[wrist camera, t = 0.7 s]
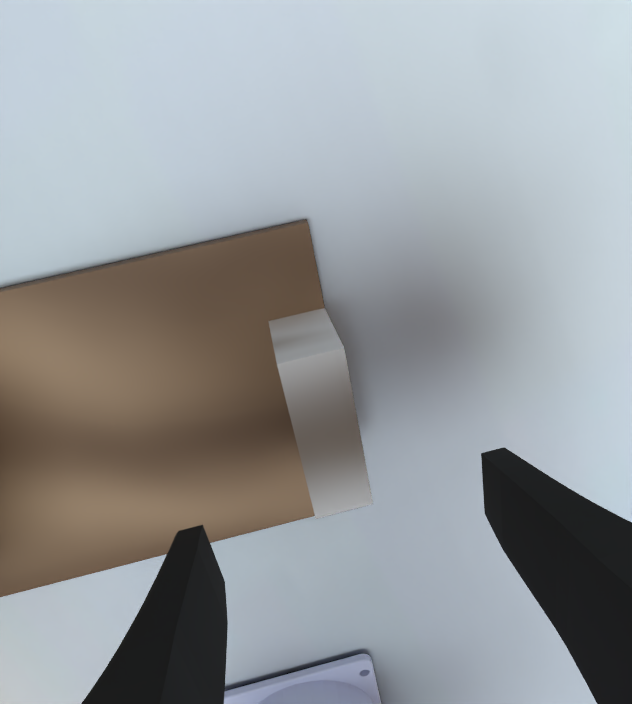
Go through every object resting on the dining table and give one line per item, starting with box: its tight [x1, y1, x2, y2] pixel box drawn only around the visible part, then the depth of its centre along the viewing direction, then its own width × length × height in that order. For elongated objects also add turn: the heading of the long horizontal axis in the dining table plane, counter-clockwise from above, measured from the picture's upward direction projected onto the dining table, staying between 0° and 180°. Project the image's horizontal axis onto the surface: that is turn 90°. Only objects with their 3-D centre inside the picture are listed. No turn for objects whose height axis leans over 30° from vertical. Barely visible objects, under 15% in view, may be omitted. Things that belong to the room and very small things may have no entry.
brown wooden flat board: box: [0, 220, 373, 597], centre depth 18 cm, size 12×22×4 cm, turn 101°
